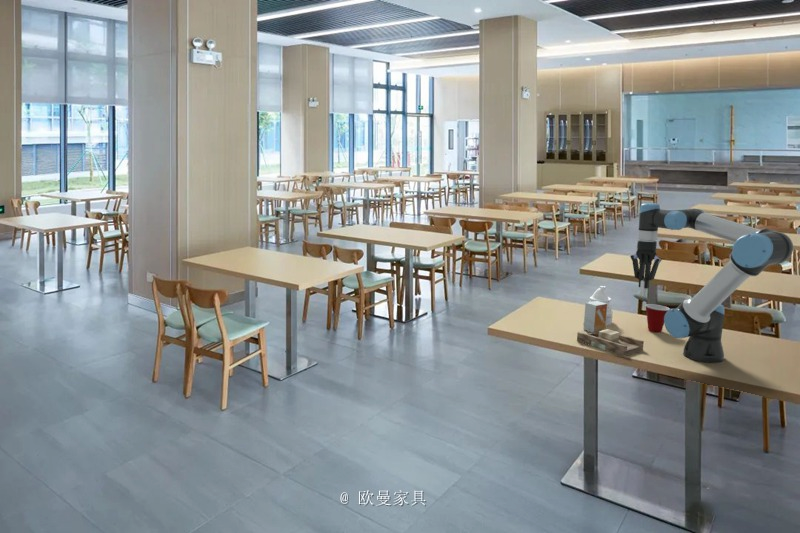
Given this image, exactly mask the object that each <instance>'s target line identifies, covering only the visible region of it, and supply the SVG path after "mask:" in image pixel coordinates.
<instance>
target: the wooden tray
mask: <svg viewBox="0 0 800 533" xmlns="http://www.w3.org/2000/svg"><path fill="white" fill-rule="evenodd" d="M602 330H603V329H599V328H594V332H589V333H585V332H581V331H577V336H576V341H577V342H579V343H582V344H585V343H586V344H585V345H588V344H589V346H591V345H592V347H593V348H598V349H601V350H604V351H608V352H611V353H614V354H617V355H620V356H624V357H626V356H629V355H632V354H637V353H639V352H642V351H644V342H645V341H644V340H641V339H638V338H634V337H630V336H627V335H623V334H620V333H619V341H618V342H612V341H608V340H605V339H602V338H599V331H602Z"/></svg>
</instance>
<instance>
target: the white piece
mask: <svg viewBox="0 0 800 533" xmlns="http://www.w3.org/2000/svg"><path fill="white" fill-rule="evenodd" d="M594 301H599V302H603V303H606V304H607V312H606V324H605V326H609V325H612V324H613V314H614V313H613V310H612V305H611V301H612V298H611V297H609V296H608V294H607V291H606V285H604V286H603V285H600V286H599V288H597V289H596V290H595V291H594V292H593V294H592V295H591V296H590V297H589V301H588V302H594Z"/></svg>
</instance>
